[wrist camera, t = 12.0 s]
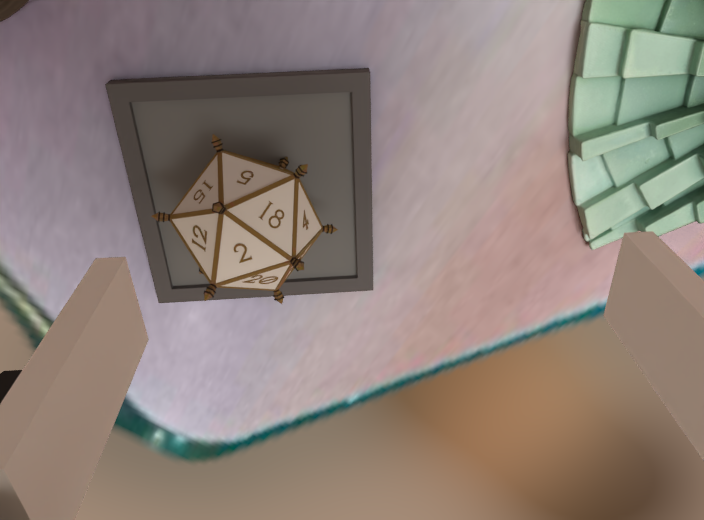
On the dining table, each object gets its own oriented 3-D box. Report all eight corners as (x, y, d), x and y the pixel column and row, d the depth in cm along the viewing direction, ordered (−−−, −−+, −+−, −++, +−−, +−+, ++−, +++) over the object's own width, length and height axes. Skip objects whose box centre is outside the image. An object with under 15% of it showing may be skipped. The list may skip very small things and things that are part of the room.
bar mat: (111, 79, 31) (105, 84, 30) (368, 68, 31) (370, 72, 31) (162, 294, 38) (158, 303, 37) (371, 282, 39) (373, 290, 38)
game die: (289, 163, 37) (395, 235, 31) (211, 267, 37) (301, 359, 31) (194, 80, 30) (307, 153, 24) (96, 210, 30) (186, 314, 24)
